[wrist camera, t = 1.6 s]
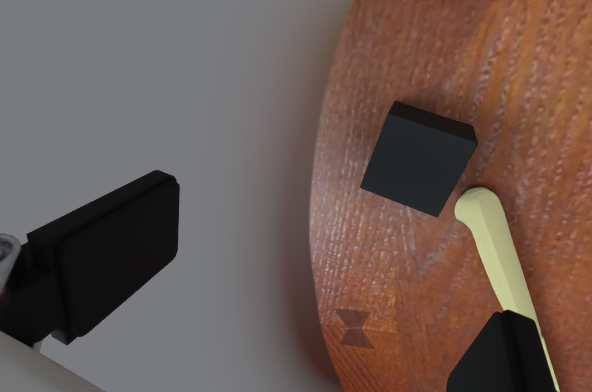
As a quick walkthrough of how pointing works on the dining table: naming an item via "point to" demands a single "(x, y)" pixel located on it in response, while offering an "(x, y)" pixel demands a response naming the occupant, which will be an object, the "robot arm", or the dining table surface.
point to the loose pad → (419, 158)
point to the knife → (498, 253)
